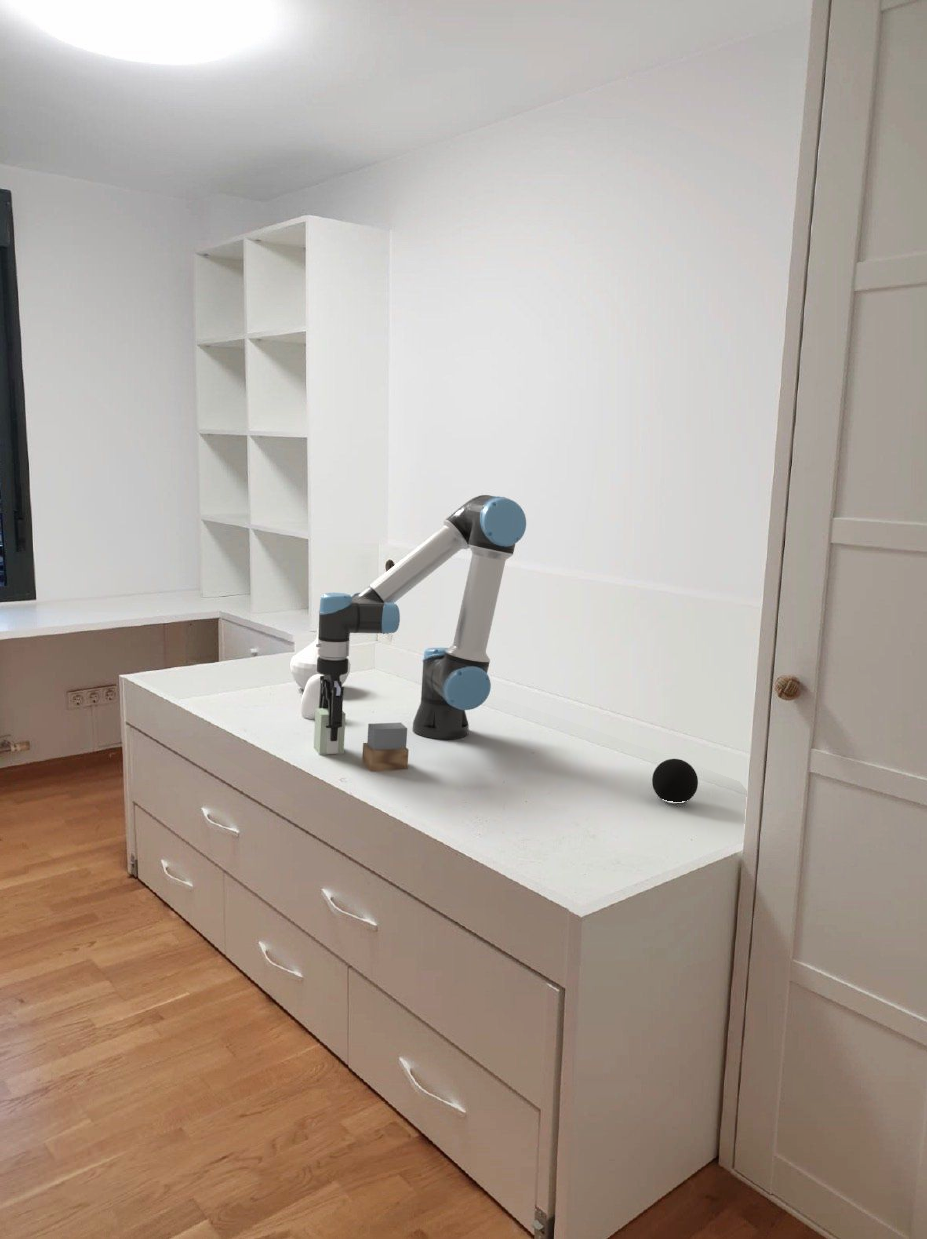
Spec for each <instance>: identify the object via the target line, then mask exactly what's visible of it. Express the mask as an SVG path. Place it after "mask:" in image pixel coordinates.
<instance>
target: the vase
mask: <svg viewBox="0 0 927 1239" xmlns="http://www.w3.org/2000/svg"><path fill="white" fill-rule="evenodd" d="M316 630H317V631H316V637H315V638H316V639H315V640H314V641H313V642H311V643H310V644H309V645H307V647H305V648H304V649H302V650H301V651H299V652H298V653H297V654H294V656H293V657H291V659H290V663H289V664H290V666H289V667H290V671H291V674H292V677H293V680H294V681H295V683H296V684H297V685H298V687H300V688H301V690H303V691H304V690H305V686H306V684H307V682H308V680H309V679H310V678H311V677H312V676H314V675H317V674H320V673H318V672H317V658H318V657H319V655H318V647H316V644H318V636H319V627H318V628H316ZM346 658H347V659H348V672H347V673H346V674H344V675H341V676H340V681H341V683H342V685H344V683H345V682H346V680H347V678H348V677H349V674H350V672H351V663H350V660H349V658H348V656H347V657H346ZM321 675H323V674H321Z"/></svg>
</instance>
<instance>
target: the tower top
mask: <svg viewBox="0 0 927 1239" xmlns="http://www.w3.org/2000/svg"><path fill="white" fill-rule="evenodd" d="M367 727H368V728H367V742H366V743H367V744H368V745H369V746H370V747H371V748H372V749H373V750H391V749H406V748H407V742H408V741H407V739H408V738H407V737H408V727H406V726H405V725H404V724H403V723H402V722H383V723H382V722H379V723H368V726H367Z"/></svg>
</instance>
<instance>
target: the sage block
mask: <svg viewBox="0 0 927 1239" xmlns="http://www.w3.org/2000/svg"><path fill="white" fill-rule="evenodd" d="M326 726H329V714H328V708H316V709H315V719H314V734H313V749H314V750H315V752H316V753H317V754H318V755H319V756H321V755H328V754H327V753H326V746H327V728H326ZM345 730H346V713H345V712H344V711H343V710H342V727H340V728H339V739H338V753H332V754H331V755H343V754H344V753H345V752H344V751H345V734H346V733H345V732H346V731H345Z"/></svg>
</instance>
